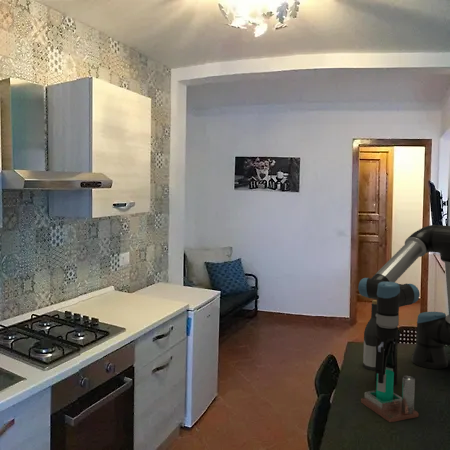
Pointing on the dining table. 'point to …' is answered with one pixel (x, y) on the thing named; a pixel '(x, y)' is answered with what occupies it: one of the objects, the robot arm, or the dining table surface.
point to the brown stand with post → (394, 402)
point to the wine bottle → (370, 340)
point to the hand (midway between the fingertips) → (384, 388)
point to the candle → (389, 387)
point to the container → (394, 365)
